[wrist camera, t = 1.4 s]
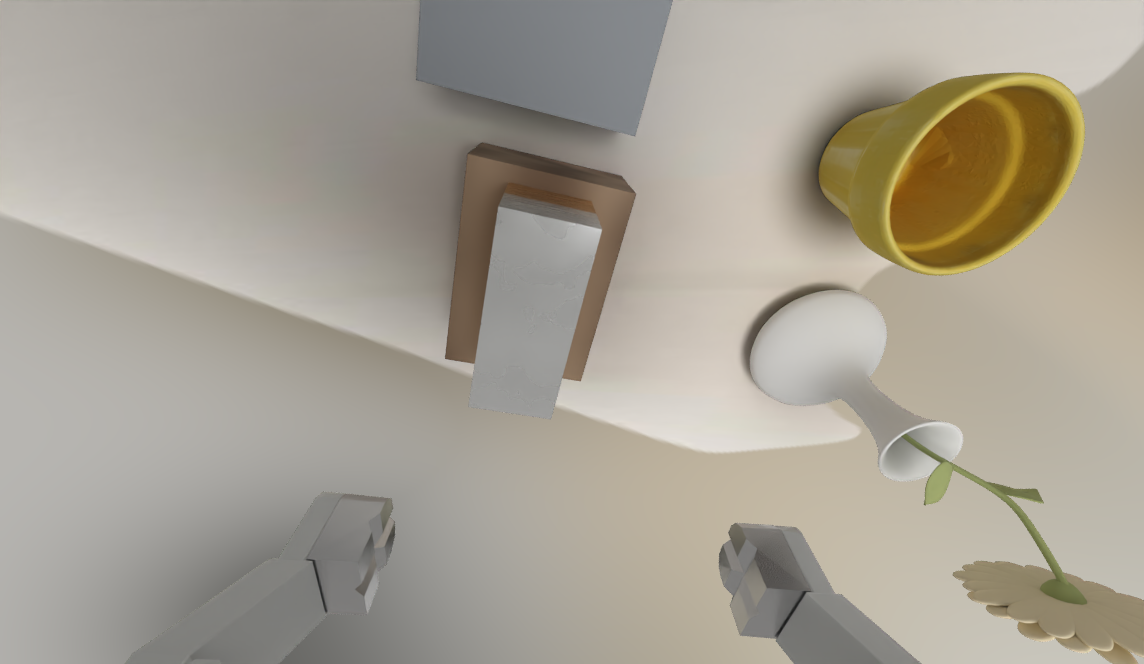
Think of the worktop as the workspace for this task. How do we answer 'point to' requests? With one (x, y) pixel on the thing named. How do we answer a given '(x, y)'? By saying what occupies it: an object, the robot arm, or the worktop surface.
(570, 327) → the grey and tan block
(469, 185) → the stand
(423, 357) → the worktop surface
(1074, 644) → the flower in vase
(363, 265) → the worktop surface
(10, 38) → the worktop surface
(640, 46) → the stand
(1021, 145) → the plant pot
